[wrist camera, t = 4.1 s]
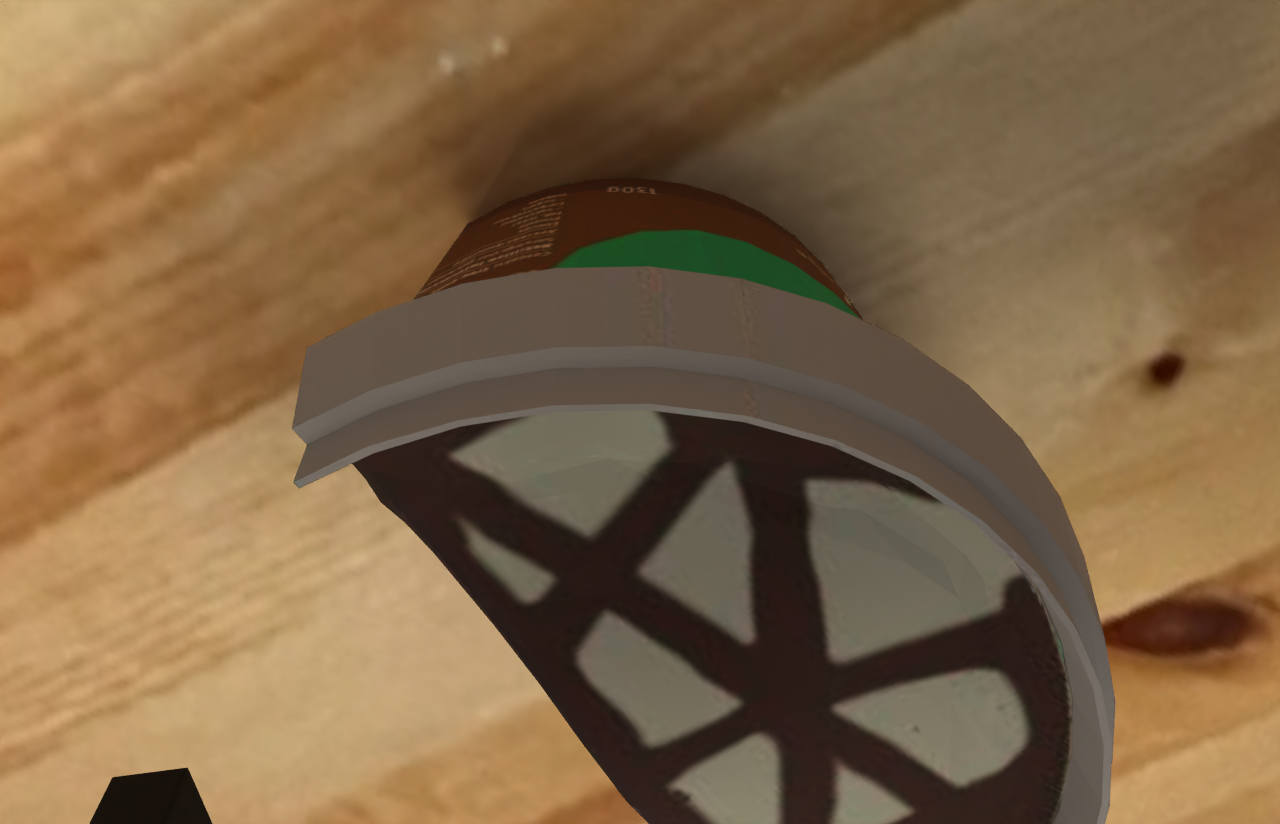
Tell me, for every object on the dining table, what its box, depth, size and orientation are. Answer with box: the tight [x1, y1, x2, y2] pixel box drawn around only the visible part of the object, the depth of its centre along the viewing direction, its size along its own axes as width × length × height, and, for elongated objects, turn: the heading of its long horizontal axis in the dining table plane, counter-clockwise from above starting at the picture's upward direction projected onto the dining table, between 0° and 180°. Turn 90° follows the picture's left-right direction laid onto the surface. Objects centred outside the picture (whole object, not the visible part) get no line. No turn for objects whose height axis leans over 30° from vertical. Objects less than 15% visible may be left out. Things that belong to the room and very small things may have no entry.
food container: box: [292, 178, 1115, 824], centre depth 17 cm, size 12×6×10 cm, turn 32°
